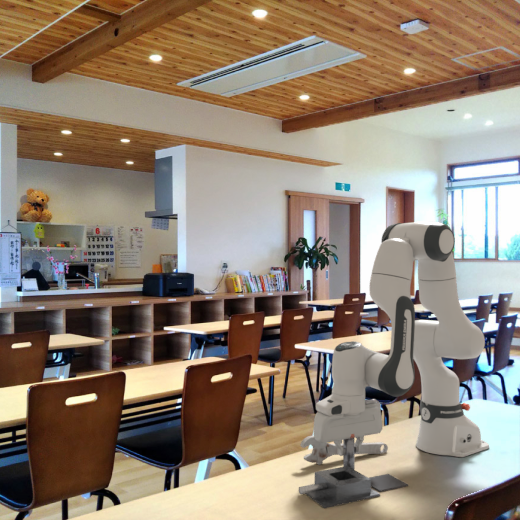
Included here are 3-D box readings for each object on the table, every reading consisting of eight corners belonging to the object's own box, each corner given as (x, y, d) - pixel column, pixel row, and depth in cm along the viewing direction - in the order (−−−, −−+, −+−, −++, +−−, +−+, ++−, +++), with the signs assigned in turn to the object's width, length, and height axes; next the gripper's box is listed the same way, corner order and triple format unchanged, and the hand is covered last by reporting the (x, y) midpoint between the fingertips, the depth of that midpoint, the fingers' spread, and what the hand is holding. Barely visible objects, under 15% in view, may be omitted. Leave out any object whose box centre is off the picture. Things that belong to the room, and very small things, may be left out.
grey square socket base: (351, 479, 152) (351, 463, 152) (379, 496, 142) (380, 479, 142) (288, 491, 144) (288, 475, 144) (313, 510, 133) (313, 492, 133)
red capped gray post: (350, 465, 159) (350, 429, 159) (358, 470, 155) (358, 433, 155) (339, 467, 157) (338, 431, 157) (346, 472, 154) (346, 435, 154)
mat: (388, 475, 155) (388, 473, 155) (408, 485, 148) (408, 484, 148) (360, 480, 151) (360, 479, 151) (379, 492, 144) (379, 490, 144)
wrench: (386, 462, 173) (301, 466, 160) (382, 460, 175) (297, 464, 162) (389, 435, 174) (304, 437, 160) (385, 433, 175) (301, 435, 162)
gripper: (373, 395, 163) (373, 444, 163) (310, 404, 154) (310, 455, 155) (387, 400, 157) (387, 451, 158) (322, 410, 149) (323, 463, 149)
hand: (348, 453), depth 156 cm, fingers closed on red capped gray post, 3 cm apart
